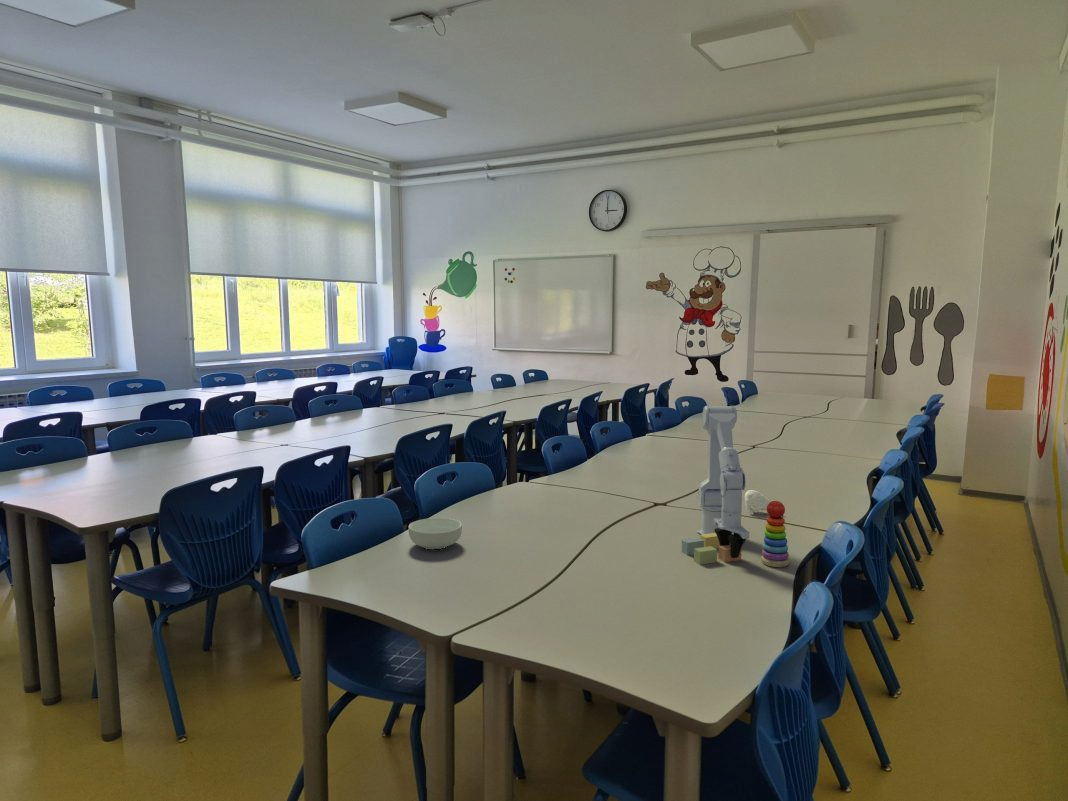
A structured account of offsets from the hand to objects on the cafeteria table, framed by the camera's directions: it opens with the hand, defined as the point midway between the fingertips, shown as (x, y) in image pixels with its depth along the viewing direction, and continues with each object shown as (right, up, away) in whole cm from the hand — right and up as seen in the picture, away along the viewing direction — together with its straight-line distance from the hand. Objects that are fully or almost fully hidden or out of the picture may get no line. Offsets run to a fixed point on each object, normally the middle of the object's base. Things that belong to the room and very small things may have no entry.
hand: (729, 554), depth 199 cm
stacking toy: (+12, -2, -3) cm, 13 cm away
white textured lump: (+25, +4, +46) cm, 53 cm away
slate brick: (-10, -1, +6) cm, 12 cm away
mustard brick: (-3, 0, +11) cm, 11 cm away
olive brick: (-8, -2, -2) cm, 8 cm away
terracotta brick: (0, -2, 0) cm, 2 cm away
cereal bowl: (-90, 0, +12) cm, 91 cm away
